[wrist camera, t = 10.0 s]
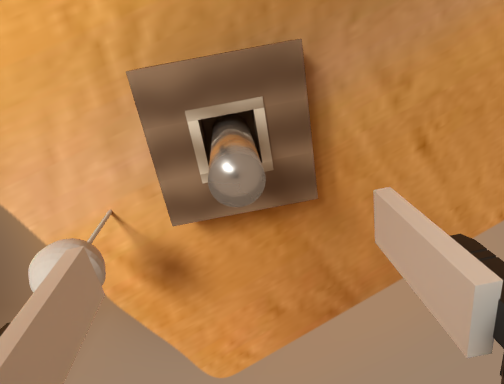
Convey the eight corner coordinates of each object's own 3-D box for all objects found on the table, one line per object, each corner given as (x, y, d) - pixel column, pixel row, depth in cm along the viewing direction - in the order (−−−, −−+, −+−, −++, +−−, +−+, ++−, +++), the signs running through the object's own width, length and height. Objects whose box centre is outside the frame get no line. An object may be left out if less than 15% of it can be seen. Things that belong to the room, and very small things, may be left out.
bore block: (138, 68, 35) (124, 72, 30) (291, 40, 35) (302, 38, 30) (178, 206, 41) (172, 227, 36) (307, 181, 41) (318, 199, 37)
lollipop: (129, 185, 40) (80, 257, 26) (142, 228, 42) (103, 316, 28) (76, 193, 40) (-2, 270, 26) (92, 236, 42) (29, 328, 28)
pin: (208, 117, 36) (201, 159, 23) (245, 110, 36) (260, 148, 23) (216, 152, 38) (214, 212, 24) (252, 146, 38) (269, 201, 24)
